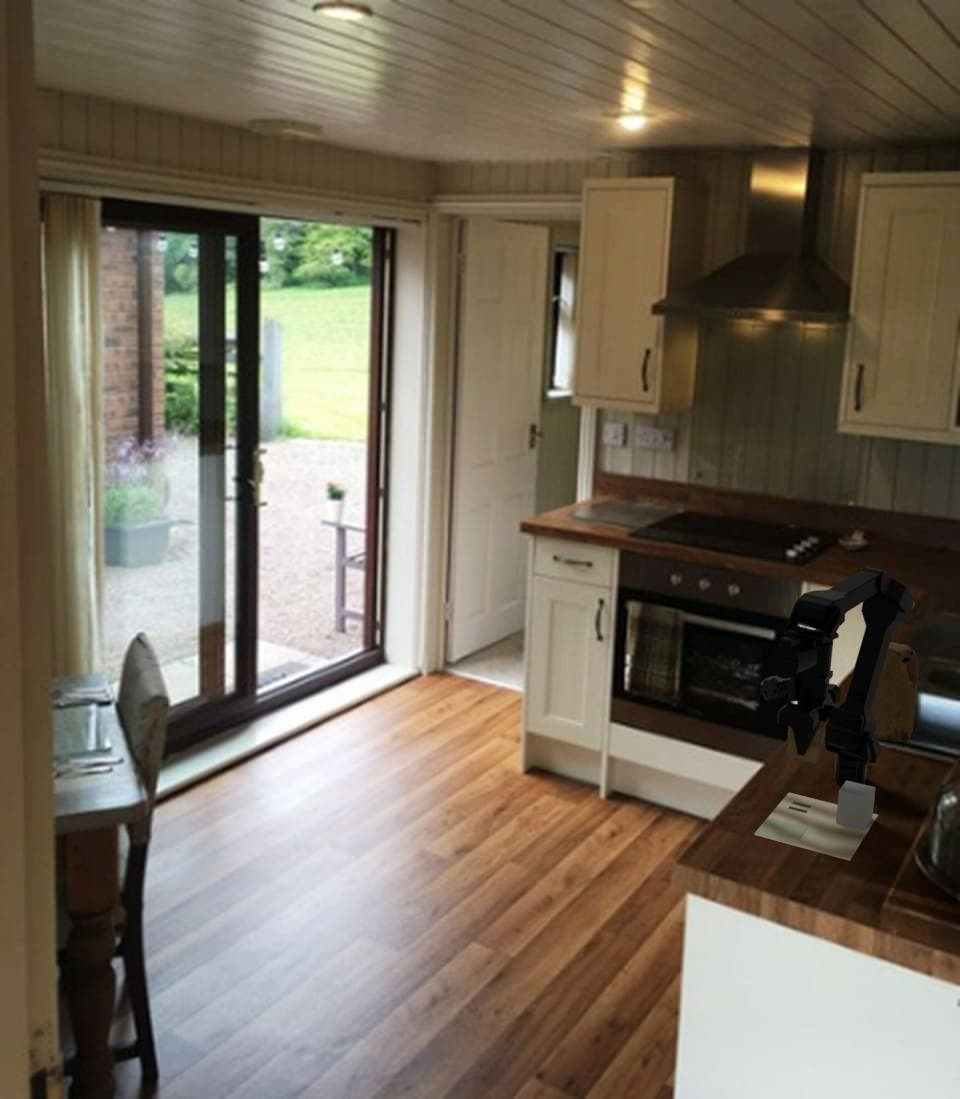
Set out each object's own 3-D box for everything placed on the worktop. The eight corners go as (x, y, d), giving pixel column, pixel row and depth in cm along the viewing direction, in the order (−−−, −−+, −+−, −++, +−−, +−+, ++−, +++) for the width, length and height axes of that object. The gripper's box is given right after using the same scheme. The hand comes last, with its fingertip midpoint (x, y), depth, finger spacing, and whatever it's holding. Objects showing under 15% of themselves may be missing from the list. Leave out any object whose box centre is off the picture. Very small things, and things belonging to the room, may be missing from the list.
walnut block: (794, 747, 204) (797, 716, 203) (822, 753, 201) (826, 722, 200) (786, 756, 200) (789, 724, 198) (815, 763, 197) (818, 730, 196)
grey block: (843, 811, 201) (846, 780, 200) (872, 819, 199) (875, 787, 197) (835, 822, 197) (839, 790, 196) (865, 830, 195) (868, 797, 193)
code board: (788, 797, 209) (788, 792, 209) (877, 820, 201) (878, 814, 201) (753, 839, 192) (753, 834, 192) (849, 866, 184) (849, 860, 184)
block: (853, 734, 240) (863, 644, 236) (864, 724, 246) (874, 636, 241) (905, 747, 234) (916, 654, 229) (916, 736, 240) (927, 646, 235)
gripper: (783, 644, 209) (776, 724, 212) (750, 671, 193) (743, 757, 197) (845, 655, 203) (836, 737, 207) (816, 684, 188) (807, 772, 191)
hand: (805, 750), depth 200 cm, fingers closed on walnut block, 5 cm apart
